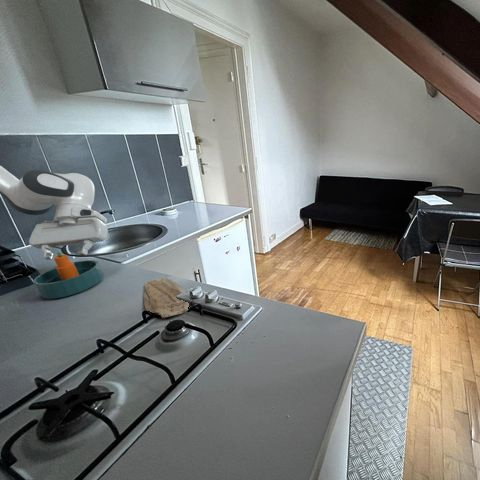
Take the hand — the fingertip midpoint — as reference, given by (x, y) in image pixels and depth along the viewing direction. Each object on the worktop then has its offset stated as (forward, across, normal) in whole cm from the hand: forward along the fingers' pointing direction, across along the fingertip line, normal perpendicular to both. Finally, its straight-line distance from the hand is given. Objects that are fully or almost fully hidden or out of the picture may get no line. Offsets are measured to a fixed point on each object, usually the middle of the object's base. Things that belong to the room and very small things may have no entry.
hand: (65, 256), depth 82 cm
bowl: (+8, 0, +6) cm, 10 cm away
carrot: (+8, 0, +5) cm, 9 cm away
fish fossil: (+19, +32, -5) cm, 38 cm away
